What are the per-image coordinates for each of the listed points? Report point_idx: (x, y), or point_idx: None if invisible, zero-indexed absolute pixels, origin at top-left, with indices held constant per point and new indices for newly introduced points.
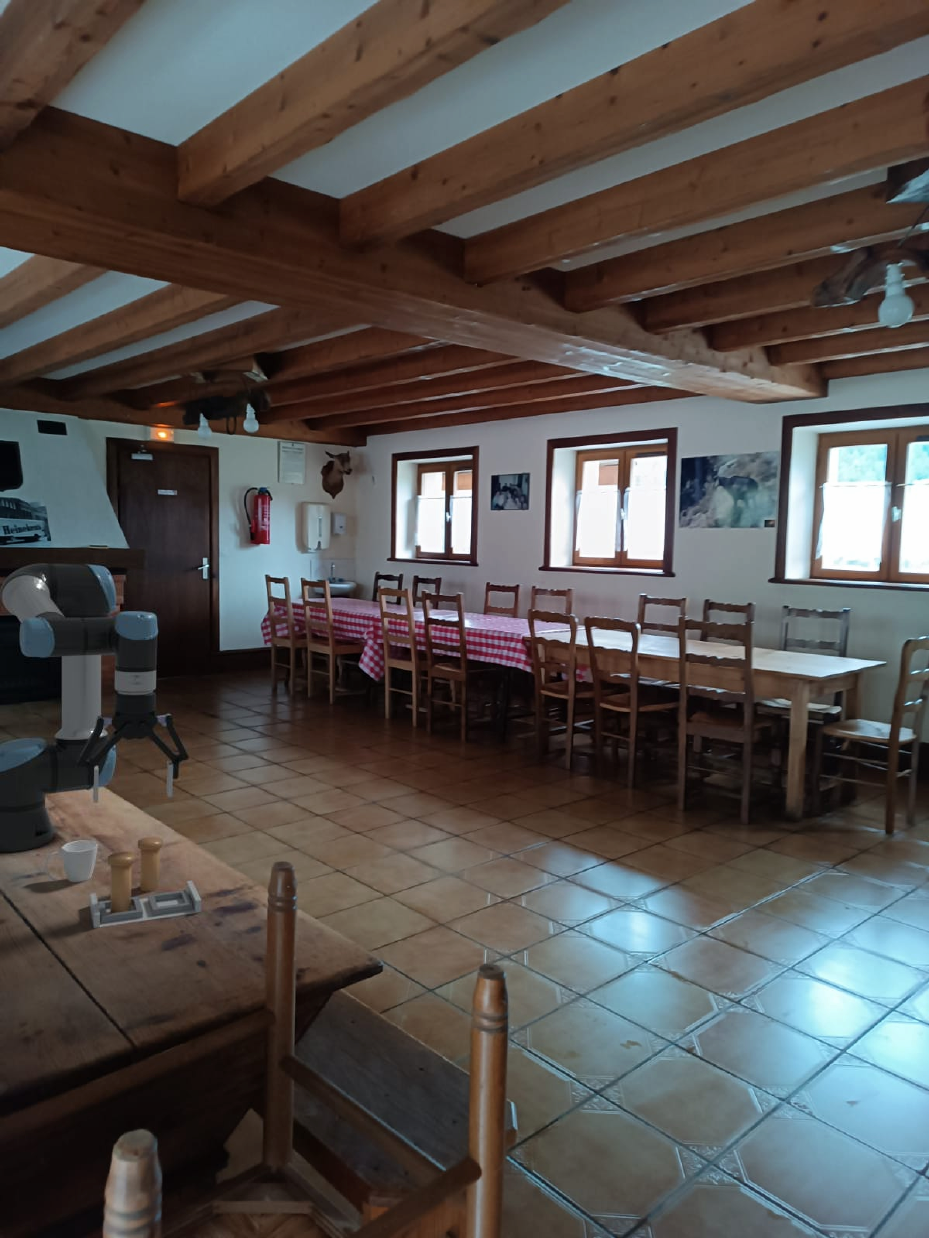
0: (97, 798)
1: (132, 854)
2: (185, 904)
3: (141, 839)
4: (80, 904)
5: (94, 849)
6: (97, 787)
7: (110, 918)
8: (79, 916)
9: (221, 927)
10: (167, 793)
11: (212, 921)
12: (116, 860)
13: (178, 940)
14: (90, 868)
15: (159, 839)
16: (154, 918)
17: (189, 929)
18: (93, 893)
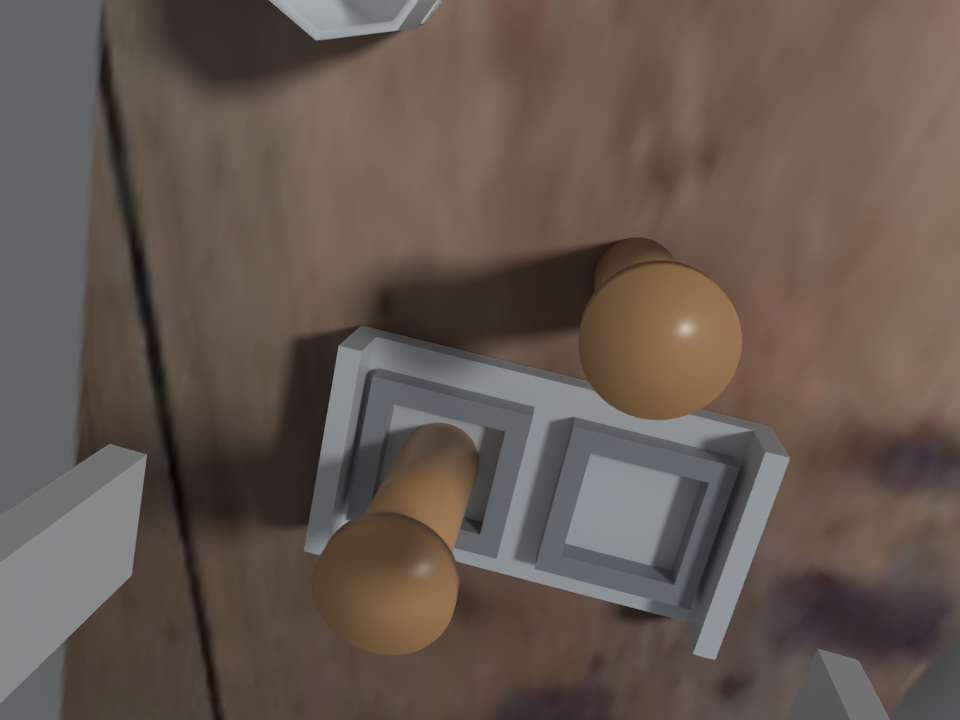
0: (102, 595)
1: (444, 596)
2: (665, 596)
3: (623, 283)
4: (347, 231)
5: (417, 5)
6: (23, 669)
7: None
8: (318, 344)
9: (727, 714)
10: (798, 710)
11: (725, 658)
12: (344, 626)
13: (556, 710)
14: (418, 24)
15: (722, 347)
16: (532, 577)
17: (624, 665)
18: (352, 349)
